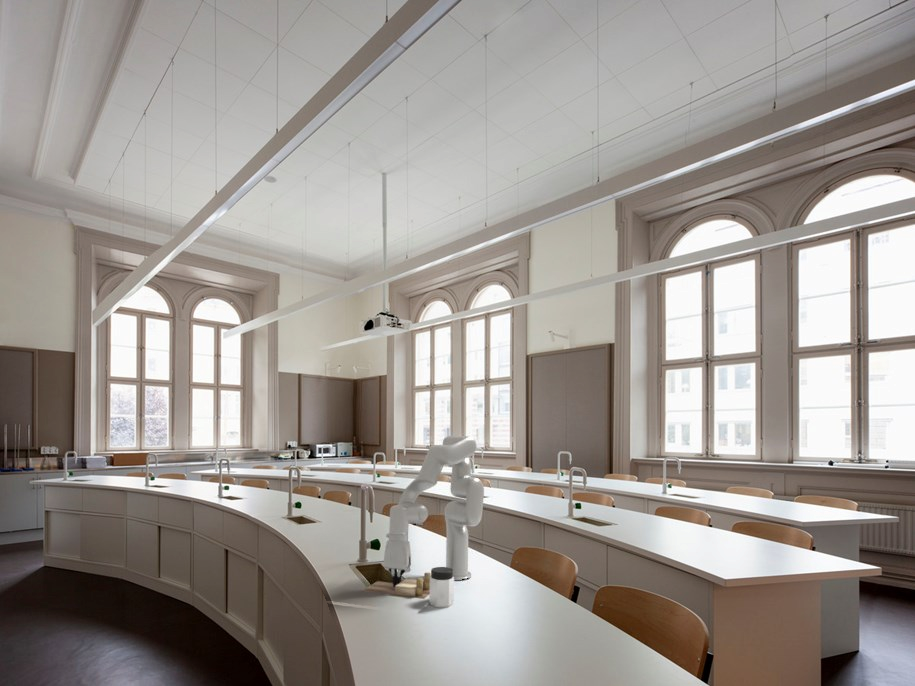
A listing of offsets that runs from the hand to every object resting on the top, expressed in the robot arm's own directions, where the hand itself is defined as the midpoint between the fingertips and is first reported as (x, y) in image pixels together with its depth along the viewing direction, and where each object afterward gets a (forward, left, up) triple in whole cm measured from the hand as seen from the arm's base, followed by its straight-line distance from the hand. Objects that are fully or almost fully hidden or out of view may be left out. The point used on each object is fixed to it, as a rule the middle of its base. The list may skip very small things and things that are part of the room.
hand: (396, 586), depth 215 cm
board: (0, +1, -2) cm, 2 cm away
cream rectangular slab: (0, +6, -1) cm, 6 cm away
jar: (+7, +21, -2) cm, 22 cm away
